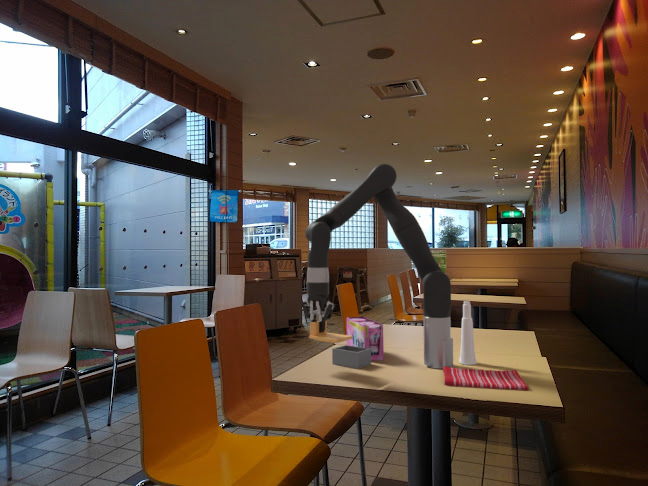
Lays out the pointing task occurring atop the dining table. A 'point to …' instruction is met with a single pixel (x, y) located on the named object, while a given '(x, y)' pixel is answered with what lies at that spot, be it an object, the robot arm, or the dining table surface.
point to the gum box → (366, 335)
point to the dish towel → (484, 378)
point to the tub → (351, 356)
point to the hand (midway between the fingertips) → (318, 331)
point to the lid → (326, 334)
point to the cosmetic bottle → (467, 337)
